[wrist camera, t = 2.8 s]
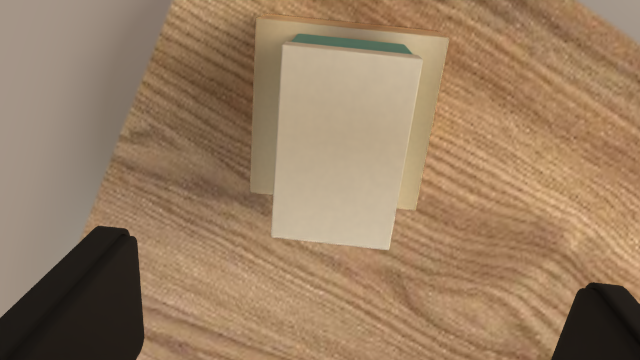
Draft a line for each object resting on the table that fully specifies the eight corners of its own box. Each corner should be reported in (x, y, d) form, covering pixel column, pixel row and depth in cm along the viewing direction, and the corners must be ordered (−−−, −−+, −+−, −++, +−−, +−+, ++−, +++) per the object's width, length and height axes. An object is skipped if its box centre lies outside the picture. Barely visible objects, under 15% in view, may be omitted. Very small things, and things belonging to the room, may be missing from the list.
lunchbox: (381, 200, 25) (389, 250, 20) (284, 190, 25) (270, 237, 20) (407, 42, 21) (423, 59, 17) (295, 30, 21) (281, 44, 17)
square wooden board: (259, 172, 28) (249, 193, 25) (266, 13, 24) (255, 17, 21) (409, 188, 28) (415, 211, 25) (438, 31, 24) (450, 37, 21)
